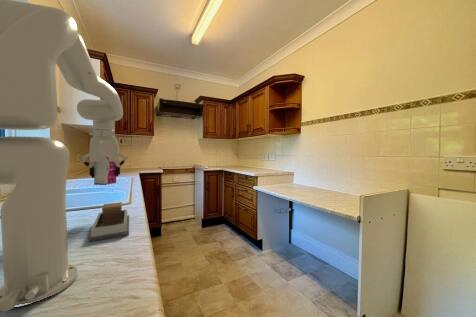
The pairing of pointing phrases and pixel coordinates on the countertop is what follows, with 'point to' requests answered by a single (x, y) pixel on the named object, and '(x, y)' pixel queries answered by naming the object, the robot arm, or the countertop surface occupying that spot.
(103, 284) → the countertop surface
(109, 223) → the grey open tray
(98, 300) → the countertop surface
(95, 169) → the supplement box
